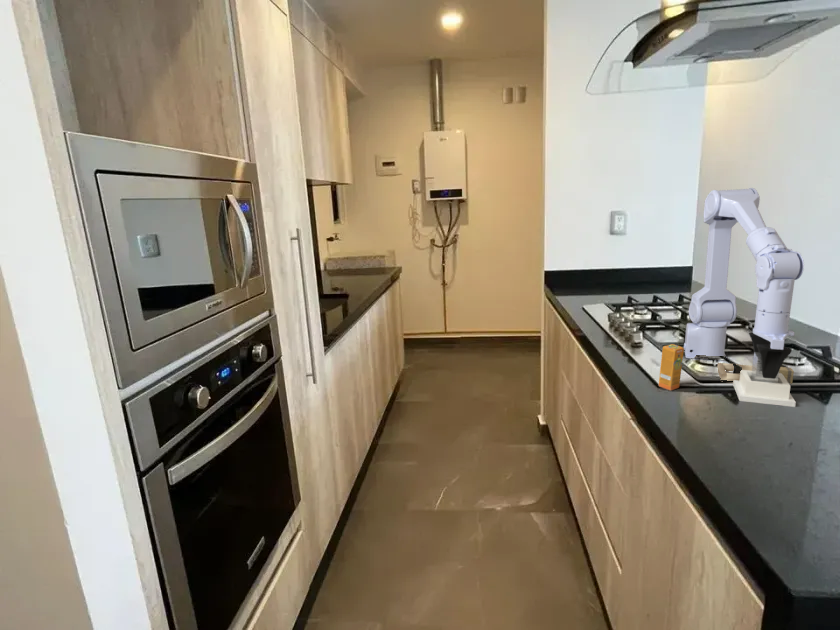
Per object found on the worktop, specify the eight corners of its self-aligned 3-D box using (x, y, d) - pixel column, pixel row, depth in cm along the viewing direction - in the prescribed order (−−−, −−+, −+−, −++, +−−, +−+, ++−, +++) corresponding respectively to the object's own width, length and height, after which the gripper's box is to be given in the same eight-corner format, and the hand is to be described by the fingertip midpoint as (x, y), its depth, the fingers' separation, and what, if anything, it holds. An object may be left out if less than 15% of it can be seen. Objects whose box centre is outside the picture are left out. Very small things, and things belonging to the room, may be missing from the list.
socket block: (721, 381, 113) (721, 373, 112) (717, 370, 120) (717, 362, 119) (762, 385, 109) (763, 377, 109) (755, 373, 116) (756, 365, 116)
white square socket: (739, 401, 102) (741, 383, 101) (732, 384, 111) (734, 367, 110) (795, 407, 98) (797, 388, 97) (783, 389, 107) (786, 372, 106)
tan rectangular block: (765, 381, 111) (767, 369, 110) (763, 377, 113) (764, 365, 113) (792, 383, 109) (793, 371, 108) (789, 380, 111) (791, 367, 110)
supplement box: (671, 391, 109) (674, 349, 107) (658, 386, 112) (661, 345, 110) (681, 388, 110) (684, 346, 108) (667, 383, 113) (670, 343, 111)
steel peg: (753, 392, 103) (757, 357, 101) (750, 386, 107) (754, 351, 105) (776, 395, 102) (780, 359, 100) (771, 388, 105) (776, 353, 103)
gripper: (806, 319, 92) (797, 386, 95) (788, 303, 104) (780, 362, 108) (762, 317, 95) (754, 381, 98) (749, 301, 107) (742, 359, 111)
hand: (765, 371), depth 103 cm, fingers open, 7 cm apart
